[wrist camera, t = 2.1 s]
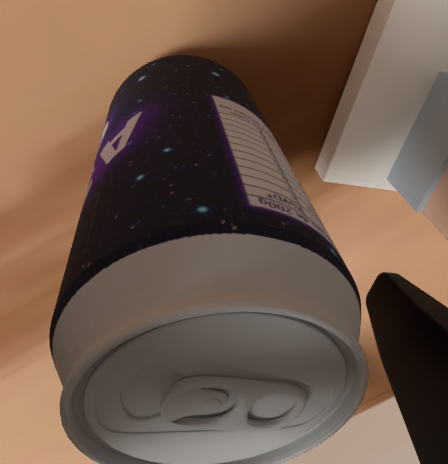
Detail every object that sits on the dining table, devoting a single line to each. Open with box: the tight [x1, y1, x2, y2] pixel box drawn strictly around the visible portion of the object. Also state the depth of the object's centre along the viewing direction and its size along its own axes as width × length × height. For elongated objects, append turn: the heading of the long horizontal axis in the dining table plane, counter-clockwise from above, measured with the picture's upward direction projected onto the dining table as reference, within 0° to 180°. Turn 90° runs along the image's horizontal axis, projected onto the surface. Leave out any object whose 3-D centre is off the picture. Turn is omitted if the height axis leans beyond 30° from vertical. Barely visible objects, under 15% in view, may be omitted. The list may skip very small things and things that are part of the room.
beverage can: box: [49, 55, 368, 464], centre depth 11 cm, size 6×6×12 cm
